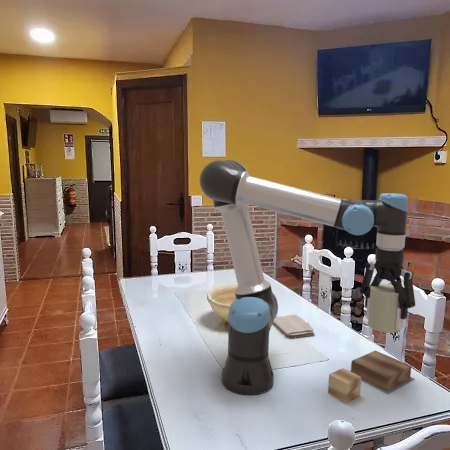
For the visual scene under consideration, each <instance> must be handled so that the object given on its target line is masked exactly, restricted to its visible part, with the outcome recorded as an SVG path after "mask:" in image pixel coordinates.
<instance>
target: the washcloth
mask: <svg viewBox="0 0 450 450" xmlns="http://www.w3.org/2000/svg"><path fill="white" fill-rule="evenodd" d="M272 326H274V328H275V329H276V330H278V331H279V330H280V331H279V333H281V332H282V333H283V334H284V335H285V336H286V337H287V338H289V339H293V338H294V339H302V338H308V337H314V336H315V332H314V330H315V329H314V328H313V327H312V326H311V325H310V323H309V322H307V321H306V320H304V319H303V318H302V317H300V316H299V315H298V314H288V315H284V316H276V318H275V319H274V322H273V325H272ZM282 333H281V334H282ZM283 334H282V335H283ZM284 335H283V336H284ZM285 336H284V337H285ZM286 337H285V338H286ZM295 337H296V338H295ZM301 337H302V338H301ZM287 338H286V339H287Z"/></svg>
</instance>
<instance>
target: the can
mask: <svg viewBox="0 0 450 450" xmlns="http://www.w3.org/2000/svg"><path fill="white" fill-rule="evenodd" d="M369 287H370V286H369ZM398 295H399V293H395V290H394V287H393V285H392V284H389V283H387V284H385V283H380V284H379V285H378V286H371V287H370V305H369V318H368V319H367V327H369V328H371V329H372V330H374V331H376V332H377V331H378V332H380V333H387V334H390V333H391V334H393V333H394V334H395V333H398V332H400V331H402V329H400V330H396V319H397V308H398V307H400V304H399V301H398Z"/></svg>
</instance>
